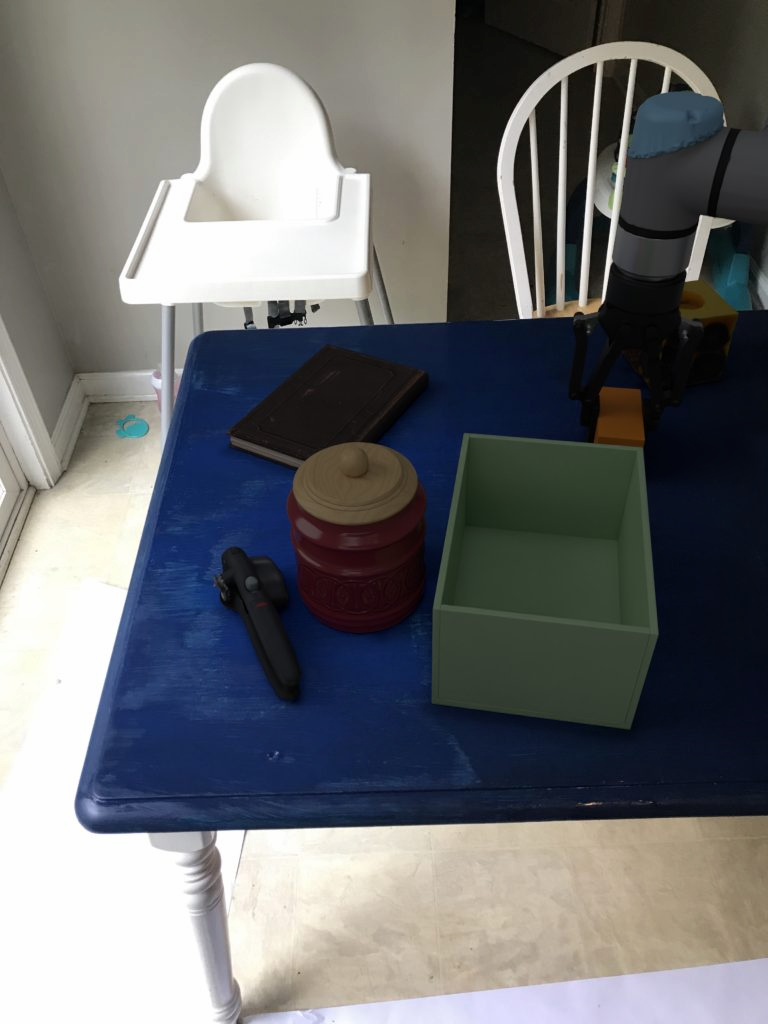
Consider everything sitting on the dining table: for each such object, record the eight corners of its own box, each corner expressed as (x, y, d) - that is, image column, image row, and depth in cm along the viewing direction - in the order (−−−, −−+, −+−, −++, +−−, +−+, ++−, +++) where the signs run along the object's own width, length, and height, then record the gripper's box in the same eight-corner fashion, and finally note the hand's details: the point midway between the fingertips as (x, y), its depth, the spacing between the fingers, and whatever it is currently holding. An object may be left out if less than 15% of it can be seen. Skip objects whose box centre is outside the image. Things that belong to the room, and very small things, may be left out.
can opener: (210, 583, 86) (200, 544, 82) (275, 564, 87) (268, 525, 83) (255, 720, 73) (246, 681, 69) (330, 694, 75) (325, 655, 71)
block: (632, 429, 103) (640, 389, 99) (635, 481, 95) (645, 440, 91) (590, 426, 103) (597, 386, 99) (591, 477, 96) (598, 436, 92)
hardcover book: (228, 447, 103) (225, 432, 101) (328, 357, 117) (326, 343, 116) (338, 485, 96) (337, 470, 95) (429, 386, 111) (429, 371, 109)
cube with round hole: (650, 393, 108) (665, 325, 102) (618, 353, 116) (630, 287, 109) (722, 382, 110) (742, 314, 103) (686, 343, 117) (702, 277, 110)
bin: (621, 542, 88) (643, 447, 79) (630, 729, 71) (658, 634, 63) (459, 526, 91) (463, 432, 82) (431, 703, 74) (432, 608, 65)
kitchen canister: (387, 656, 78) (381, 517, 66) (273, 607, 83) (249, 470, 71) (447, 567, 86) (452, 430, 74) (341, 528, 91) (329, 393, 79)
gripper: (738, 252, 85) (688, 435, 100) (558, 244, 87) (538, 423, 103) (748, 287, 79) (694, 475, 95) (557, 277, 82) (535, 461, 97)
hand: (613, 448), depth 99 cm, fingers closed on block, 5 cm apart
